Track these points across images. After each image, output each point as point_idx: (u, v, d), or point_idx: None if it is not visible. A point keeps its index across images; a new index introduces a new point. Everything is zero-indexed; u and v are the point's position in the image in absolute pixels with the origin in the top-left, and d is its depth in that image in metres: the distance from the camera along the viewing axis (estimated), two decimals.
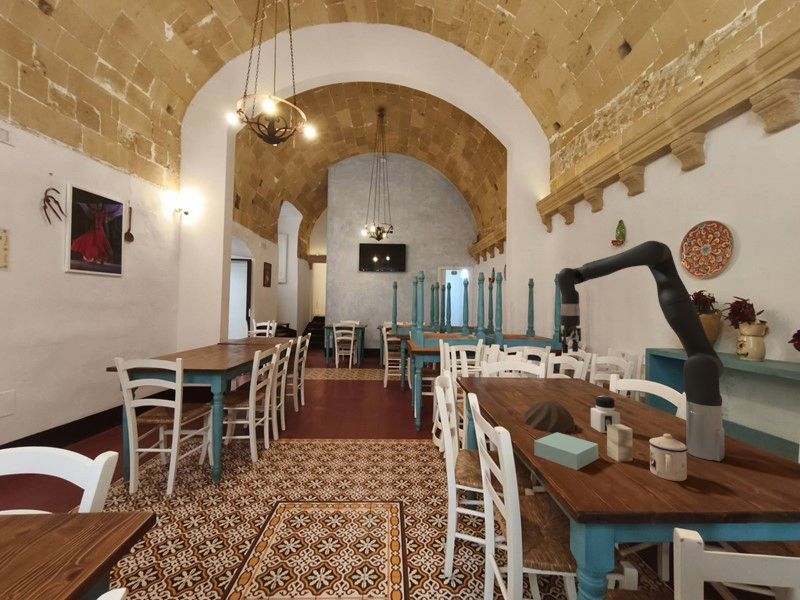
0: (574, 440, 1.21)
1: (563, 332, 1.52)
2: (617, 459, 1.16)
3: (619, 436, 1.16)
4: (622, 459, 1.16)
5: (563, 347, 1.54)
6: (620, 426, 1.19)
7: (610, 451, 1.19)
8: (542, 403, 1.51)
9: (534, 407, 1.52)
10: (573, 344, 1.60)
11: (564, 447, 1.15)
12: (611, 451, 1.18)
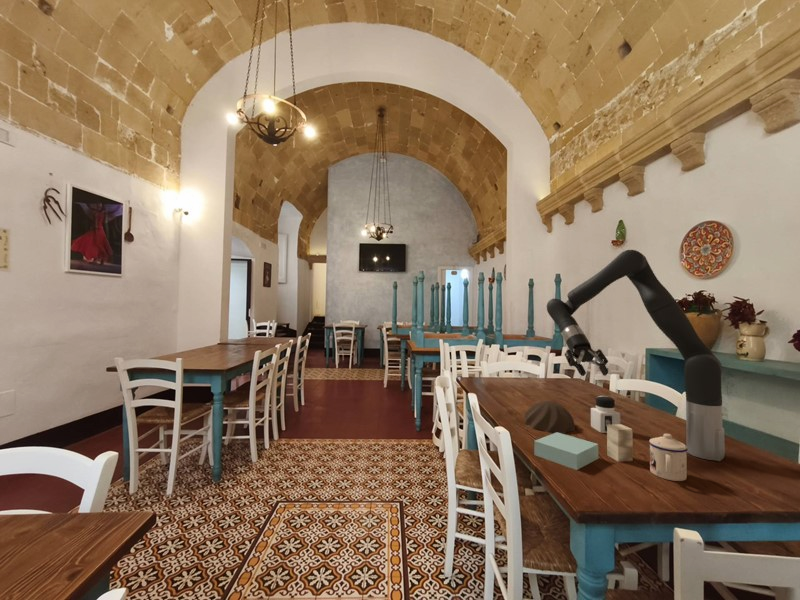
0: (574, 440, 1.21)
1: (567, 353, 1.35)
2: (617, 459, 1.16)
3: (619, 436, 1.16)
4: (622, 459, 1.16)
5: (578, 369, 1.32)
6: (620, 426, 1.19)
7: (610, 451, 1.19)
8: (542, 403, 1.51)
9: (534, 407, 1.52)
10: (600, 368, 1.34)
11: (564, 447, 1.15)
12: (611, 451, 1.18)
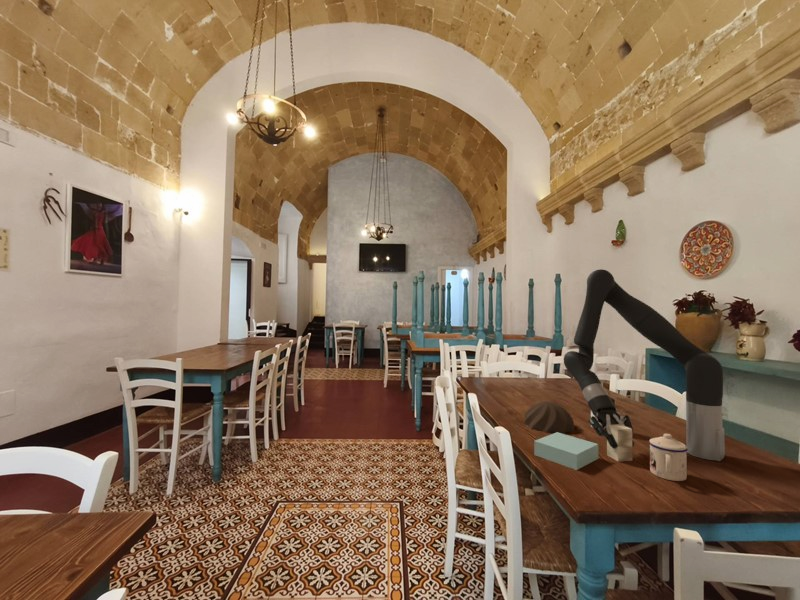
0: (574, 440, 1.21)
1: (593, 421, 1.21)
2: (617, 459, 1.16)
3: (619, 436, 1.16)
4: (622, 459, 1.16)
5: (608, 440, 1.18)
6: (620, 426, 1.19)
7: (610, 451, 1.19)
8: (541, 403, 1.50)
9: (533, 407, 1.52)
10: None
11: (564, 447, 1.15)
12: (611, 451, 1.19)
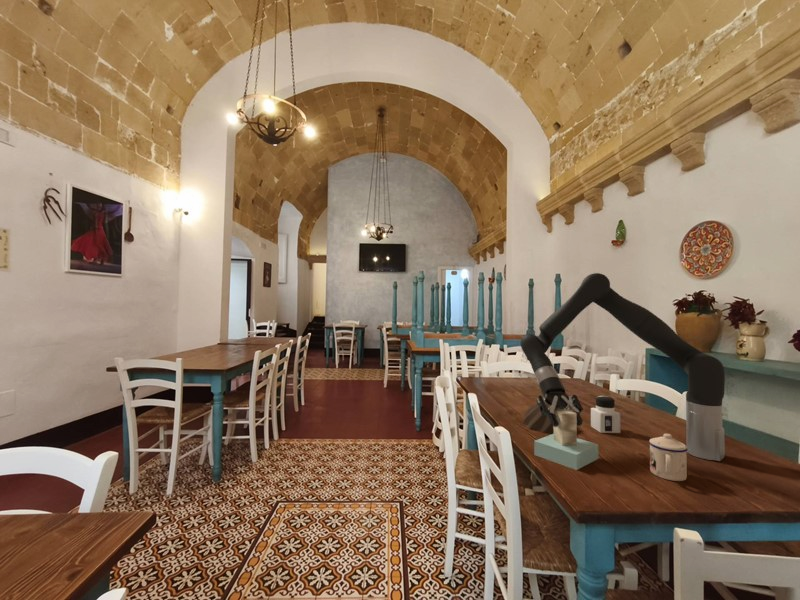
0: None
1: (539, 400, 1.23)
2: (561, 443, 1.17)
3: (564, 420, 1.17)
4: (566, 443, 1.17)
5: (550, 419, 1.19)
6: (566, 411, 1.20)
7: (556, 436, 1.20)
8: None
9: (532, 407, 1.51)
10: None
11: (564, 447, 1.15)
12: (556, 435, 1.19)
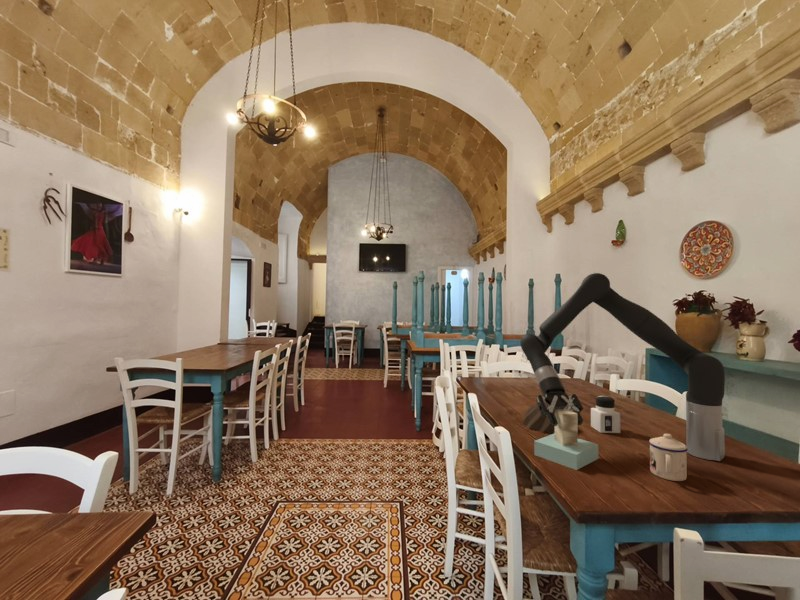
0: None
1: (539, 399, 1.23)
2: (562, 443, 1.17)
3: (564, 420, 1.17)
4: (567, 443, 1.17)
5: (549, 418, 1.19)
6: (567, 411, 1.20)
7: (556, 436, 1.20)
8: None
9: (532, 407, 1.51)
10: None
11: (564, 447, 1.15)
12: (557, 436, 1.19)
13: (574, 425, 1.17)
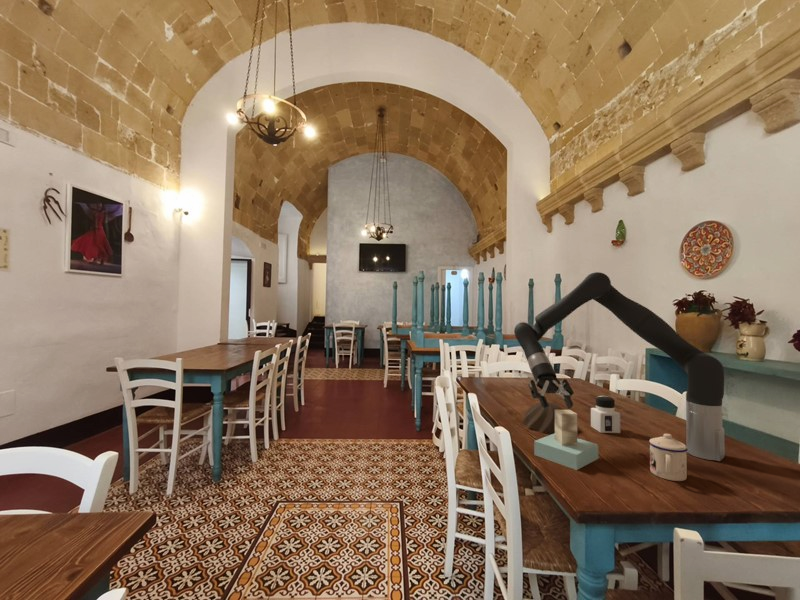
0: None
1: (531, 384, 1.28)
2: (561, 443, 1.17)
3: (563, 420, 1.17)
4: (566, 443, 1.17)
5: (541, 402, 1.24)
6: (567, 411, 1.20)
7: (556, 436, 1.20)
8: (540, 404, 1.50)
9: (532, 407, 1.51)
10: (565, 399, 1.26)
11: (564, 447, 1.15)
12: (557, 435, 1.20)
13: (574, 425, 1.17)
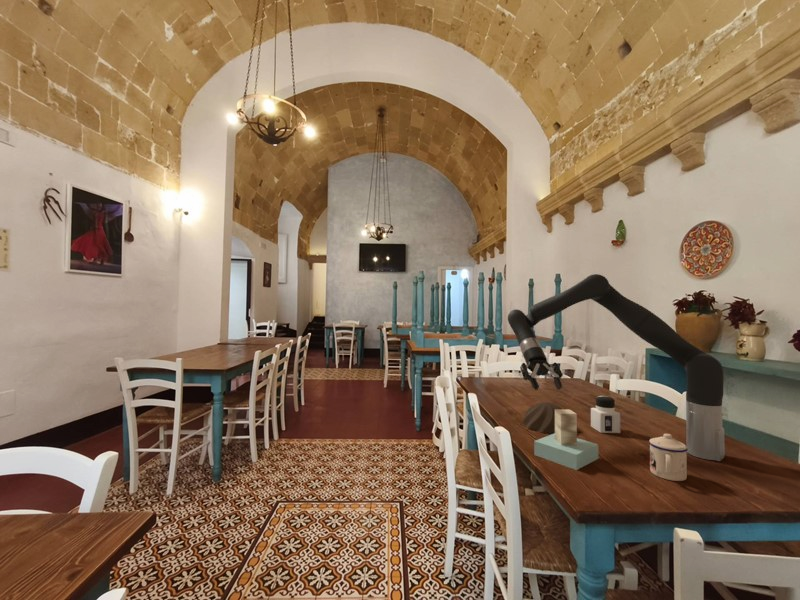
0: None
1: (522, 367, 1.35)
2: (560, 443, 1.17)
3: (563, 420, 1.17)
4: (565, 443, 1.17)
5: (531, 383, 1.31)
6: (567, 411, 1.20)
7: (556, 436, 1.20)
8: (540, 404, 1.50)
9: (532, 407, 1.51)
10: (554, 381, 1.33)
11: (564, 447, 1.15)
12: (557, 435, 1.20)
13: (573, 425, 1.17)
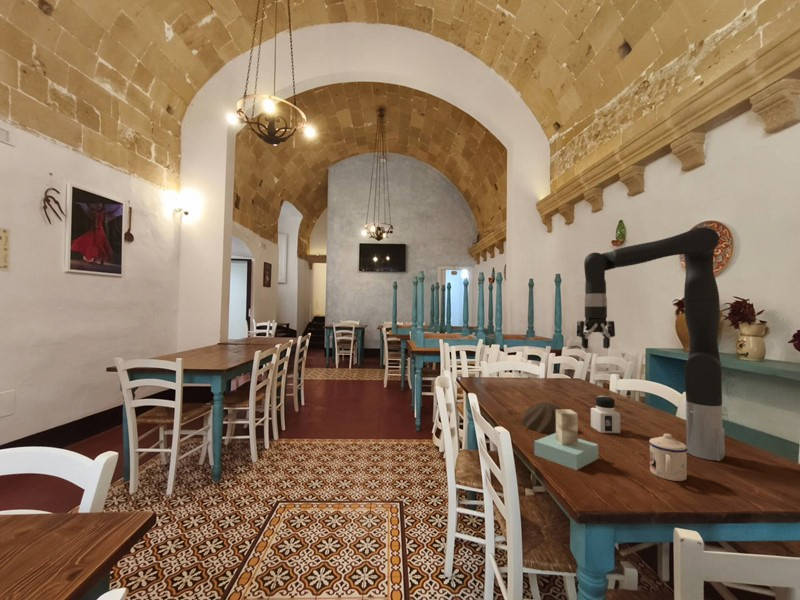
0: None
1: (580, 325, 1.38)
2: (561, 443, 1.17)
3: (563, 420, 1.17)
4: (566, 443, 1.17)
5: (582, 341, 1.39)
6: (568, 411, 1.20)
7: (557, 435, 1.20)
8: (539, 404, 1.49)
9: (531, 408, 1.51)
10: (604, 339, 1.40)
11: (564, 447, 1.15)
12: (558, 435, 1.20)
13: (574, 425, 1.17)
